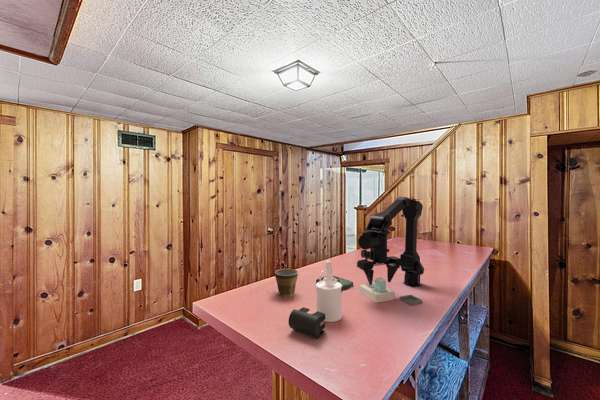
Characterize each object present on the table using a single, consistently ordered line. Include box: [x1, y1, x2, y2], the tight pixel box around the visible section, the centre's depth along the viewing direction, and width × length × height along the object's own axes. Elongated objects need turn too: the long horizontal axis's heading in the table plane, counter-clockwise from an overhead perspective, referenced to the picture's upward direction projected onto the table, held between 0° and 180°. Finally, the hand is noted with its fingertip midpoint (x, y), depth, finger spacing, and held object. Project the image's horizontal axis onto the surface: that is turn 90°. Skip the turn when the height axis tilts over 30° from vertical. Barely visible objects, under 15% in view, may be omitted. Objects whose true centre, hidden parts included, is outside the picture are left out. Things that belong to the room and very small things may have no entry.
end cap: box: [288, 306, 326, 339], centre depth 86 cm, size 10×7×7 cm
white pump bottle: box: [315, 260, 343, 323], centre depth 98 cm, size 10×9×20 cm
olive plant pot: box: [273, 268, 299, 298], centre depth 119 cm, size 13×10×10 cm
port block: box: [358, 282, 396, 304], centre depth 115 cm, size 9×12×4 cm
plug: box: [374, 276, 387, 293], centre depth 112 cm, size 3×3×8 cm
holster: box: [398, 294, 423, 306], centre depth 109 cm, size 6×6×2 cm
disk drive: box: [315, 275, 354, 292], centre depth 130 cm, size 10×3×15 cm
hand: (379, 283), depth 112 cm, fingers open, 9 cm apart
